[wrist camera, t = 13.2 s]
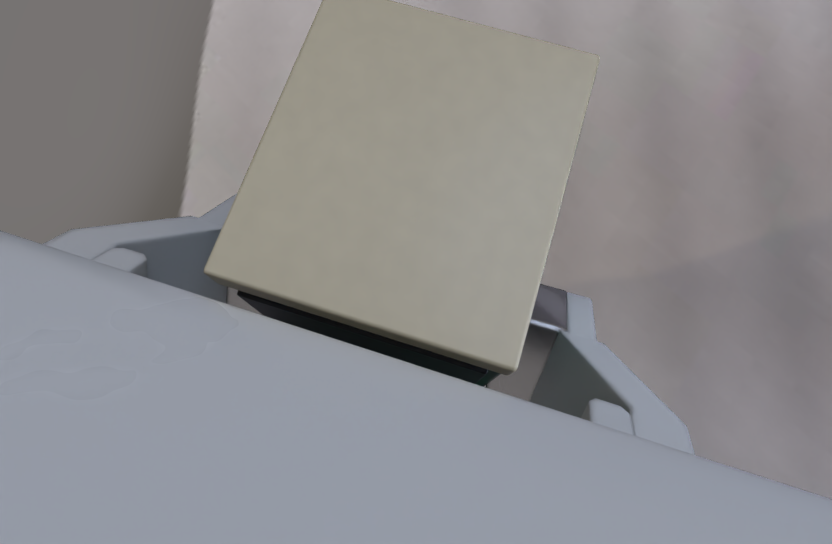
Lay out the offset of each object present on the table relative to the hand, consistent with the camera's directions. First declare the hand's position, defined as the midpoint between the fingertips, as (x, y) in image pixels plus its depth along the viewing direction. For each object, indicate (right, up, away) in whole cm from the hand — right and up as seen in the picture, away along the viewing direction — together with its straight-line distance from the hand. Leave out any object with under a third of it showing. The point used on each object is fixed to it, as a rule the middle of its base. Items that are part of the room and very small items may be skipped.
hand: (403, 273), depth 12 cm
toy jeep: (0, -2, +4) cm, 4 cm away
